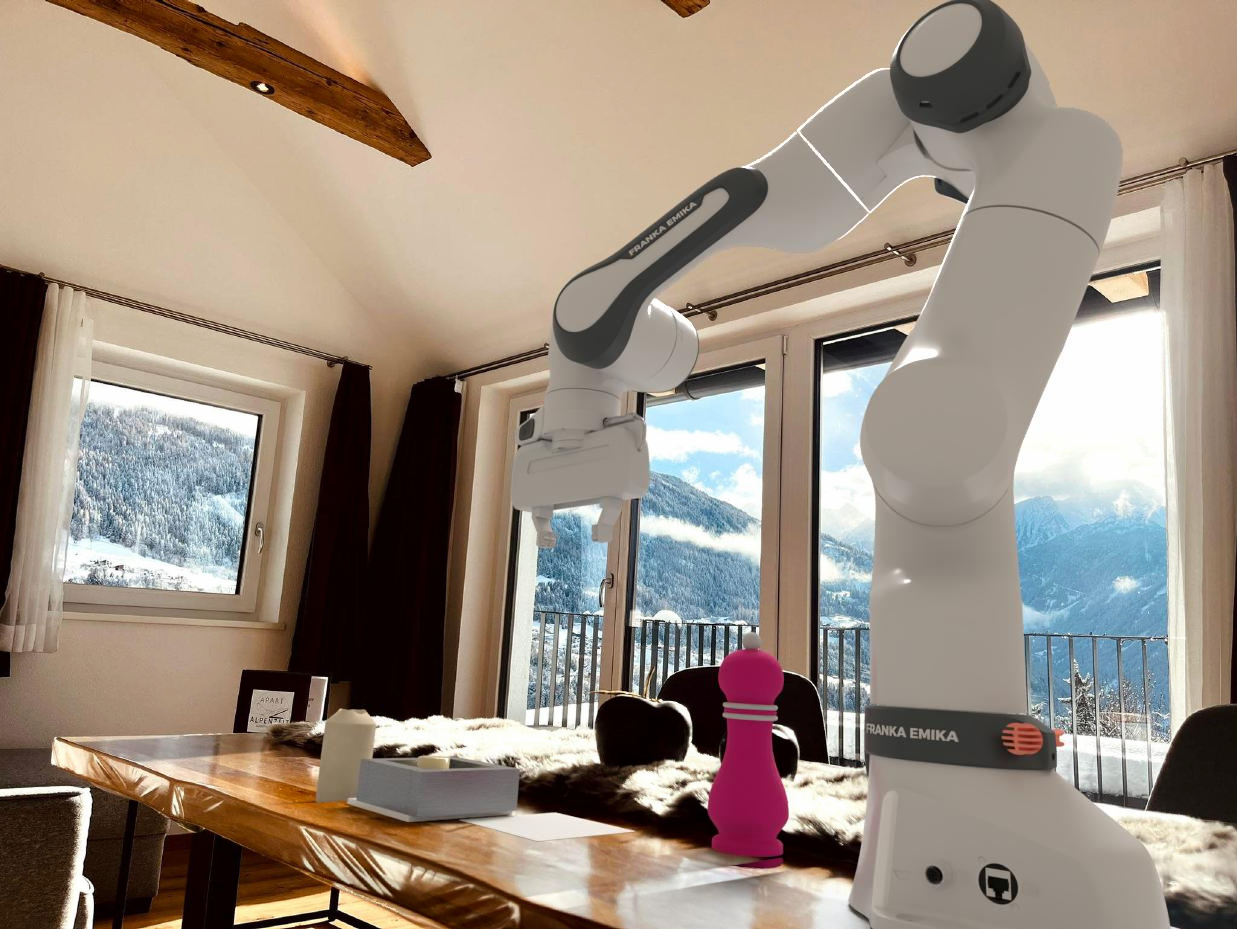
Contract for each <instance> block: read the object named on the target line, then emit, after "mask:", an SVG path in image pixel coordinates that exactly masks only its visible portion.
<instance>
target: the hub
mask: <svg viewBox="0 0 1237 929" xmlns="http://www.w3.org/2000/svg"><path fill="white" fill-rule="evenodd" d="M449 757H450V756H443V755H442V756H440V755H439V756H438V755H421V756H420V755H419V756H418V757H417V758H418V767H419V768H424V769H449V763H450V758H449ZM346 802H347V805H350V806H353V807H357V808H360V809H363V810H367V811H370V812H374V813H377V814H380V815H384V816H387V817H391V818H393V819H397V820H400V821H404V822H407V823H414V822H415V823H416V822H427V821H429V822H430V821H439V820H442V821H443V820H454V819H455V820H456V819H467V818H468V819H471V818H485V817H498V816H512V813H513V811H502V812H487V813H473V814H459V815H445V816H431V817H413V816H410V815H406V814H403V813H399V812H396V811H392V810H389V809H385V808H382V807H378V806H375V805H371V804H368V803H365V802H361V801H358V800H356V798H348V801H346Z"/></svg>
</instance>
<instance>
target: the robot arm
mask: <svg viewBox="0 0 1237 929" xmlns="http://www.w3.org/2000/svg"><path fill="white" fill-rule="evenodd" d="M1057 104H1058V103H1057V100H1056V98H1055V96H1054V94H1053V91H1052V89H1051V86H1050V82H1049V79H1048V77H1047V75H1046V73H1045V71H1044V70H1043V67H1042V65H1041V64H1040V62H1039V60H1038V59H1037V57H1036V55H1034V52H1033V51H1032V49H1031V48H1030V46H1029V45H1028V44H1027V43H1026V41H1025V39H1024V35H1023V32H1022V31H1021V28H1020V26H1019V25H1018V23H1017V22H1016V21H1015V20H1014V18H1012V16H1010V15H1009V14H1008V13H1007V11H1006V10H1004V9H1003V8H1002V7H1001V6H1000V5H998V4H997V3H995V2H994V1H992V0H948V1H946V2H943V3H941V4H939V5H938V6H937V5H936V6H935V7H934V8H932V9H929V11H927V12H926V13H925V14H923V15H922V16H921V17H919V18H918V19H917V20H916V21H915V22H914V23H913V24H912V25H911V26H910V27H909V28H908V29H907V31H906V32H905V33H904V35H903V36H902V37H901V38H900V40H899V42H898V44H897V46H895V49H894V52H893V54H892V57H891V59H890V66H889V68H886V67H885V68H879V69H876V70H873V71H872V72H871V71H870V73H867V74H866V75H865V76H863V77H861V79H859V80H857V81H855V82H854V83H853V84H851V85H849V86H848V87H847V88H845V90H843V91H842V92H839V94H838V95H836V96H835V97H834V98H833V99H831V100H830V101H828V103H826V104H825V105H824V106H822V107H821V108H820V109H819V110H818V111H816V112H815V114H813V115H812V116H811V117H810V118H808V119H807V121H805V123H803V124H802V125H801V126H800V127H799V128H798V129H797V132H796V131H795V132H794V133H793V134H792V135H790V136H789V137H788V138H787V139H785V141H784V142H783V143H781V144H780V145H779V146H777V147H776V148H774V149H773V150H772V151H770V152H768V154H766V155H764V156H763V157H761V158H760V159H757V160H756V161H754V162H752V163H750V164H747V165H745V166H739V167H738V166H737V167H734V168H730V169H727V170H725V171H723V172H721V173H720V174H718V175H716V176H715V177H713V178H711V179H709V181H707V182H706V183H704V184H703V185H701V186H700V187H698V188H697V189H696V190H694V191H693V192H692V193H690V194H689V195H688V196H686V197H685V198H683V200H681V201H680V202H679V203H677V204H676V205H675V206H674V207H672V208H671V209H670V210H669V211H667V212H666V213H664V214H663V215H662V216H661V217H659V218H658V219H657V220H656V221H654V222H653V223H652V224H651V225H649V226H648V227H647V228H646V229H644V230H643V231H641V232H640V233H639V234H638V235H636V236H635V237H634V238H633V239H631V240H630V241H629V242H627V244H625V245H624V246H622V247H621V248H620V249H618V250H617V251H615V253H613V254H611V255H610V256H608V257H606V258H604V259H602V260H601V261H599V262H597V263H595V264H592V265H591V266H589V267H587V268H586V269H583V270H582V271H581V272H578V273H577V274H576V275H575V276H572V278H571V279H570V280H569V281H568V282H567V283H566V284H565V285H564V286H563V288H562V289H561V291H560V292H559V293H558V295H557V298H556V301H555V303H554V307H553V312H552V324H551V330H550V334H549V342H548V352H547V353H548V354H547V356H548V357H547V366H548V370H549V382H548V385H547V388H546V390H545V394H544V403H543V406H541V407H539V408H538V409H537V411H536V412H534V414H533V415H532V416H530V417H529V418H528V419H527V420H525V421H524V422H523V423H521V424H520V425H519V426H518V427H517V428H516V430H515V432H514V433H515V434H514V443H515V444H516V445H519V446H520V447H519V448H518V449H517V451H516V452H515V454H514V458H513V461H512V462H513V464H512V469H511V471H512V472H511V482H510V500H511V503H512V507H513V508H514V509H515V510H518V511H522V512H527V513H531V520H532V523H533V526H534V528H535V531H536V541H535V544H536V547H537V548H540V549H541V548H542V549H554V548H556V546H557V537H558V533H557V532H553V529H552V525H551V520H553V519H554V511H558V510H567V509H573V508H579V507H586V506H594V505H599V506H598V507H599V508H601V512H600V515H599V517H598V520H597V523H596V524H592V525H591V536H590V538H591V541H592V542H594V543H599V544H604V543H611V542H612V541H613V535H614V534H613V533H614V532H613V531H614V527H615V524H616V523H617V521H618V519H619V517H620V515H621V513H622V511H623V501H626V500H635V499H642V498H644V497H645V496H646V495H647V492H648V491H649V488H650V484H651V468H650V453H649V452H650V450H649V445H648V440H647V423H646V421H645V420H644V418H643V417H642V416H641V415H639V414H637V412H628V413H625V414H623V415H621V412H622V410H621V409H622V396H623V394H625V393H626V392H634V393H641V394H642V393H649V394H659V393H660V394H661V393H668V392H671V391H673V390H675V389H677V388H678V387H679V386H681V385H682V384H683V383H684V382H685V381H687V379H688V378H689V377H690V375H691V374H692V372H693V370H694V369H695V366H696V365H697V361H698V357H699V352H700V340H699V334H698V331H697V328H696V327H695V325H694V324H693V323H692V322H691V321H690V320H688V319H687V318H686V317H685V316H684V315H682V314H681V313H679V312H678V311H677V310H675V309H674V308H672V307H670V306H669V305H667V303H665V302H662V301H660V300H658V299H657V298H658V296H660V295H661V294H662V293H664V292H666V291H667V290H668V289H669V288H671V287H672V286H673V285H674V284H676V283H677V282H679V281H680V280H681V279H682V278H683V277H684V276H686V275H688V274H689V273H690V272H691V271H693V270H694V269H696V268H697V267H698V266H699V265H700V264H702V263H703V262H705V261H706V260H707V259H709V258H710V257H712V256H714V255H715V254H718V253H721V252H722V251H725V250H729V249H733V248H740V247H755V248H764V249H765V248H766V249H770V250H771V249H772V250H776V251H778V252H779V251H780V252H784V253H791V254H810V253H815V252H819V251H821V250H824V249H825V248H827V247H829V246H830V245H832V244H834V243H835V242H838V240H840V239H841V238H843V237H845V236H846V235H847V234H848V233H850V232H851V231H852V230H853V229H854V228H856V226H857V225H858V224H859V223H861V222H862V221H863V220H864V219H865V218H866V217H867V216H868V215H869V214H871V213H872V212H873V211H874V210H875V209H876V208H877V207H878V206H879V205H880V204H881V203H883V202H884V200H886V198H887V197H889V195H891V194H892V193H893V192H894V191H895V190H897V188H899V187H900V186H902V185H903V184H905V183H907V182H908V181H910V180H913V179H915V178H919V177H933V179H934V180H933V182H934V183H933V185H934V190H935V191H936V193H937V194H939V195H941V196H944V197H947V198H949V199H952V200H955V201H957V202H960V203H962V204H963V205H965V208H964V210H963V213H962V214H961V218H960V219H959V223H958V224H957V228H956V230H955V232H954V235H953V237H952V239H951V242H950V244H949V246H948V250H947V252H946V254H945V256H944V259H943V262H942V263H941V266H940V269H939V271H938V274H937V276H936V279H935V281H934V283H933V286H932V288H931V291H930V293H929V296H928V299H927V300H926V302H925V305H924V306H923V308H922V311H921V312H920V314H919V316H918V318H917V320H916V321H915V324H914V325H913V326H912V328H911V330H910V331H909V333H908V335H907V336H906V337H905V339H904V340H903V343H902V344H901V346H900V348H899V350H898V351H897V353H896V355H895V357H894V358H893V361H892V362H891V364H890V366H889V368H888V370H887V372H886V374H885V375H884V377H883V379H882V380H881V381H880V383H878V385H877V386H876V388H875V389H874V391H873V393H872V395H871V396H870V398H869V401H868V404H867V406H866V409H865V411H864V415H863V417H862V423H861V428H860V435H859V447H860V454H861V457H862V462H863V464H864V466H865V468H866V471H867V473H868V475H869V477H870V479H871V482H872V487H873V491H874V496H875V497H874V498H875V499H874V501H875V503H874V504H875V509H874V510H875V514H874V515H875V518H874V519H875V520H874V542H873V544H874V545H873V558H872V559H873V562H872V575H871V587H870V595H869V693H870V694H869V698H870V699H869V703H870V704H867V705H865V706H864V717H863V718H864V719H863V720H864V721H863V722H864V724H863V726H864V727H863V754H864V755H863V756H864V766H865V771H866V776H867V778H868V779H867V780H868V781H867V795H866V807H865V815H864V823H863V833H862V838H861V845H860V851H859V856H858V862H857V866H856V870H855V875H854V879H853V882H852V886H851V890H850V891H849V892H850V893H849V896H848V900H847V901H848V904H849V906H851V907H852V908H853V909H854V910H855V911H857V912H859V913H860V914H862V915H864V916H865V917H866V918H867V919H868V920H869V926H870V928H872V929H1180V928H1178V927H1175V926H1171V923H1170V917H1169V913H1168V908H1167V903H1166V899H1165V895H1164V891H1163V886H1162V882H1161V879H1160V876H1159V872H1158V870H1157V868H1156V865H1155V861H1154V860H1153V858H1152V856H1151V853H1150V852H1149V850H1148V849H1147V847H1146V846H1145V845H1144V844H1143V842H1141V840H1140V839H1139V838H1137V837H1136V836H1135V835H1134V834H1132V833H1131V832H1130V831H1129V830H1127V828H1125V827H1124V826H1122V825H1121V824H1120V823H1119V822H1117V820H1115V819H1114V818H1113V817H1111V816H1110V815H1108V814H1107V813H1106V812H1105V811H1104V810H1103V809H1102V808H1100V807H1099V806H1098V805H1096V804H1095V803H1094V802H1093V801H1091V800H1090V799H1089V798H1088V797H1087V796H1086V795H1085V794H1083V793H1082V792H1081V791H1080V790H1078V789H1077V788H1076V787H1074V786H1073V785H1072V784H1071V783H1070V782H1069V781H1068V780H1066V779H1065V778H1064V776H1062V775H1060V773H1058V772H1057V771H1056V770H1054V769H1055V768H1058V751H1057V750H1058V748H1059V747H1060V748H1061V747H1064V746H1065V742H1063V741H1061V740H1060V737H1062V736H1063V735H1064V734H1065V731H1064V730H1062V729H1052V728H1050V726H1047V725H1046V724H1044V723H1043V722H1042V721H1040V720H1039V719H1037V718H1035V717H1034V716H1032V715H1031V714H1028V701H1027V700H1028V699H1027V696H1028V695H1027V679H1026V677H1027V676H1026V656H1025V636H1024V635H1025V634H1024V614H1023V613H1024V612H1023V610H1024V609H1023V600H1022V599H1023V598H1022V591H1021V578H1020V567H1019V555H1018V543H1017V530H1016V529H1017V528H1016V515H1015V514H1016V513H1015V512H1016V511H1015V495H1014V480H1015V470H1016V466H1017V462H1018V457H1019V453H1021V452H1020V451H1021V448H1022V445H1023V442H1024V440H1025V437H1026V435H1027V432H1028V430H1029V428H1030V425H1031V424H1032V423H1031V422H1032V421H1033V417H1034V415H1035V412H1036V410H1037V408H1038V406H1039V404H1040V401H1041V398H1042V396H1043V394H1044V391H1045V389H1046V387H1047V385H1048V383H1049V380H1050V378H1051V376H1052V373H1053V371H1054V369H1055V367H1056V364H1057V362H1058V360H1059V358H1060V356H1061V354H1062V352H1063V350H1064V347H1065V344H1066V342H1067V340H1068V337H1069V335H1070V333H1071V329H1072V326H1073V324H1074V322H1075V319H1076V317H1077V314H1078V311H1079V309H1080V306H1081V304H1082V301H1083V298H1084V296H1085V294H1086V290H1087V288H1088V287H1089V283H1090V281H1091V278H1092V275H1093V272H1094V270H1095V268H1096V265H1097V262H1098V260H1099V257H1100V255H1101V253H1102V249H1103V247H1104V245H1105V242H1106V241H1105V240H1106V238H1107V235H1108V231H1109V228H1110V225H1111V222H1112V219H1113V216H1114V215H1113V213H1114V211H1115V206H1116V203H1117V199H1118V198H1117V197H1118V192H1119V188H1120V182H1121V177H1122V176H1121V175H1122V169H1123V163H1124V162H1123V160H1124V150H1123V145H1122V144H1123V143H1122V141H1121V138H1120V137H1119V134H1118V133H1117V132H1116V130H1115V128H1114V127H1112V125H1111V123H1109V122H1107V121H1106V120H1105V119H1103V118H1102V117H1100V116H1099V115H1097V114H1095V113H1092V112H1090V111H1088V110H1085V109H1080V108H1075V107H1066V106H1065V107H1064V106H1063V107H1058V105H1057ZM1057 747H1058V748H1057Z"/></svg>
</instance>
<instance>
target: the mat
mask: <svg viewBox="0 0 1237 929" xmlns="http://www.w3.org/2000/svg"><path fill="white" fill-rule="evenodd" d="M459 821H461V822H464V823H467V824H472V825H475V826H479V827H483V828H486V829H490V830H494V831H497V832H500V833H505V834H508V835H511V836H516V837H519V838H523V839H526V840H529V841H533V842H535V843H536V842H537V843H538V842H540V843H541V842H550V841H558V840H568V839H578V838H590V837H599V836H607V835H617V834H627V833H628V834H629V833H636V832H637V831H636V830H632V829H627V828H623V827H619V826H614V825H610V824H606V823H602V822H598V821H594V820H590V819H585V818H580V817H575V816H571V815H568V814H565V813H564V814H562V813H560V812H559V813H558V812H545V813H532V814H531V813H529V814H518V815H502V816H489V817H475V818H468V819H467V818H462V819H459Z"/></svg>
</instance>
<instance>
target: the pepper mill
mask: <svg viewBox="0 0 1237 929" xmlns="http://www.w3.org/2000/svg"><path fill="white" fill-rule="evenodd" d="M741 643H742V647H743V648H744V649H738V650H735V651H732V652H730V653H729V654H728V655H726V656H725V657H724V658H723V660H722V662H721V664H720V665H719V670H718V676H717V678H718V684H719V688H720V689H721V691H722V692H723V693H724V695H725V697H726V700H727V701H725V702H723V703H722V707H724V709H723V713H722V717H723V718H725V719H726V727H727V730H726V731H727V738H726V748H725V751H724V755H723V759H722V762H721V764H720V765H719V766H720V767H719V769H718V771H717V773H716V775H715V777H714V780H713V782H712V784H711V788H710V791H709V794H708V799H707V800H708V801H707V808H706V809H707V814H708V816H709V818H710V820H711V821H712V823H713V825H714V826H715V828H716V829H717V831H718V834H716V835H714V836H713V837H712V838H711V848H712V849H713V850H715V851H717V852H720V853H724V854H729V855H733V856H734V855H735V856H741V857H752V858H753V857H754V858H757V857H758V858H770V857H771V859H766V860H765V859H764V860H758V861H750V862H745V863H744V862H743V863H738V864H737V863H736V864H732V865H729V866H731V867H737V868H745V869H757V870H758V869H774V868H778V867H781V866H782V865H783V863H784V858H783V857H779V856H782V855H783V854H784V850H783V849H784V844H783V843H782V841H781V840H779V839H778V838H777V837H778V835H779V833H780V832H781V831H782V830H783V828H784V827H785V826H786V824H787V823H788V821H789V817H790V808H789V800H788V795H787V791H786V788H785V785H784V782H783V781H782V778H781V776H780V773H779V770H778V767H777V765H776V761H775V756H774V752H773V738H772V737H773V735H772V734H773V727H774V722H776V721H778V719H779V718H778V716H777V714H778V712H777V710H778V709H779V707H778V706H777V705H775V700H776V698H777V697H778V696H779V694H781V693H782V691H783V689H784V683H785V682H784V681H785V678H784V677H785V676H784V672H783V667H782V665H781V663H780V662H779V660H778V659H777V658H776V657H774V655H772V654H771V653H769V652H766V651H764V650H761V649H760V647H761V645H762V638H761V636H760V635H759V634H758V633H756V632H754V631H749V632H746V633H745V634H744V635H743V637H742V640H741ZM772 857H778V858H772Z"/></svg>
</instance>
